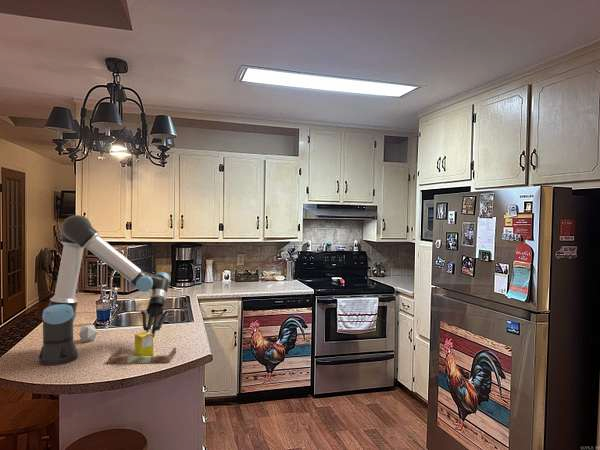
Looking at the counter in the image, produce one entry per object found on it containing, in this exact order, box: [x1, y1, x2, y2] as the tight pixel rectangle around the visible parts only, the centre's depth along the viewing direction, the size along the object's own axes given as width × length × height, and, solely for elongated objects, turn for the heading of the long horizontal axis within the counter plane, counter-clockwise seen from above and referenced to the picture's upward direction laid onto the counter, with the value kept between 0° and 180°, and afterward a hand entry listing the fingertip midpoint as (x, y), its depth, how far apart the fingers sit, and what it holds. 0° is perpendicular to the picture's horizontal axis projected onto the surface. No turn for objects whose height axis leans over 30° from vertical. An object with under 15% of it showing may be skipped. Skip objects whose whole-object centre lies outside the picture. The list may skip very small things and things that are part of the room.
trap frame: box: [107, 347, 177, 364], centre depth 185 cm, size 26×12×2 cm, turn 94°
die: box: [78, 324, 98, 343], centre depth 209 cm, size 8×9×10 cm
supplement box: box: [134, 331, 154, 357], centre depth 185 cm, size 6×6×11 cm
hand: (148, 343), depth 190 cm, fingers closed
